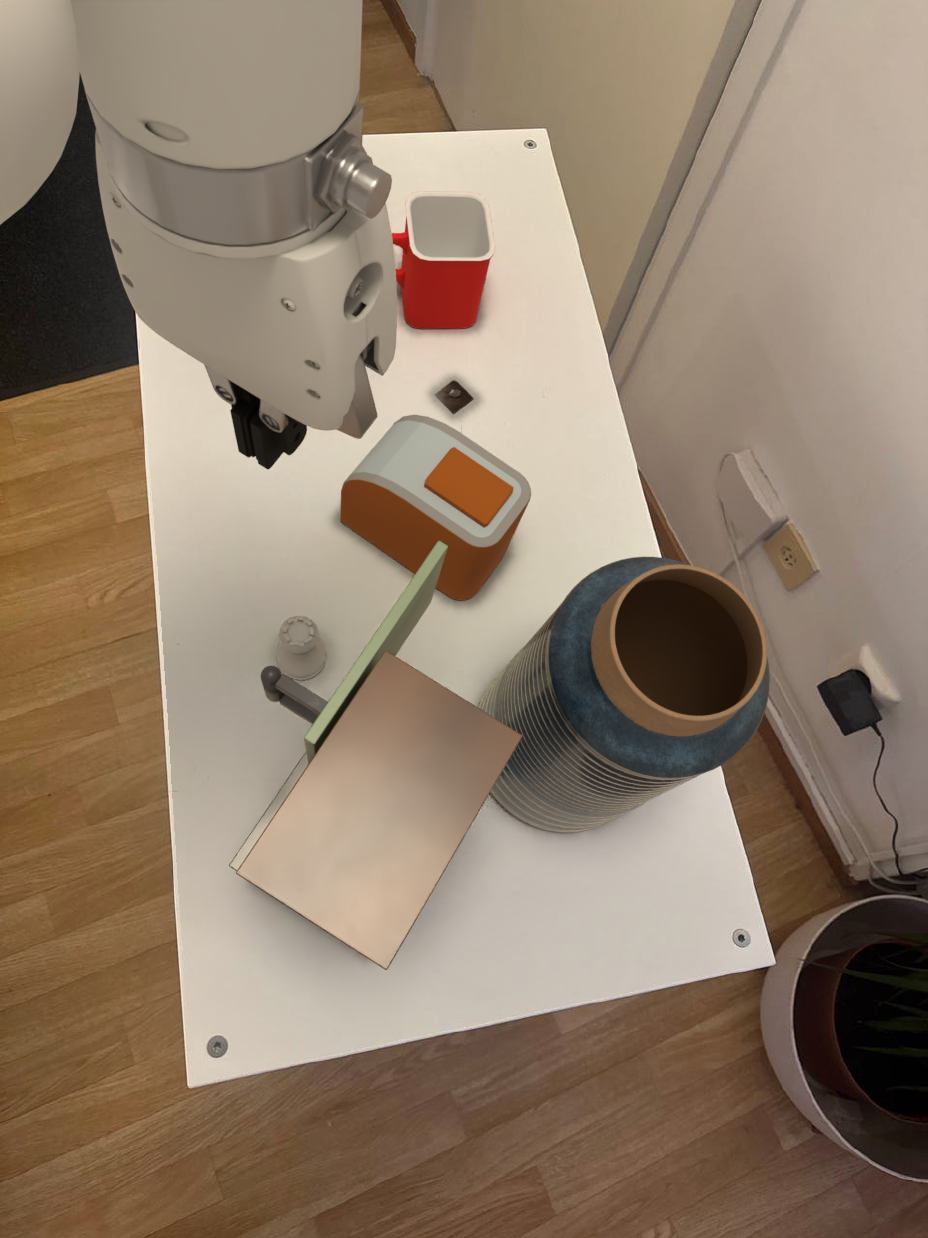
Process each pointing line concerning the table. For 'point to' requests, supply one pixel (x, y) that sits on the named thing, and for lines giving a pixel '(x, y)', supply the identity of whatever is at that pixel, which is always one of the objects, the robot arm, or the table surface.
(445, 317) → the mug
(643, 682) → the vase
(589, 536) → the table surface
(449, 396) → the small square plate
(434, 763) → the cabinet
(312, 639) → the rook chess piece
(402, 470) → the alarm clock
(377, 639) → the door
